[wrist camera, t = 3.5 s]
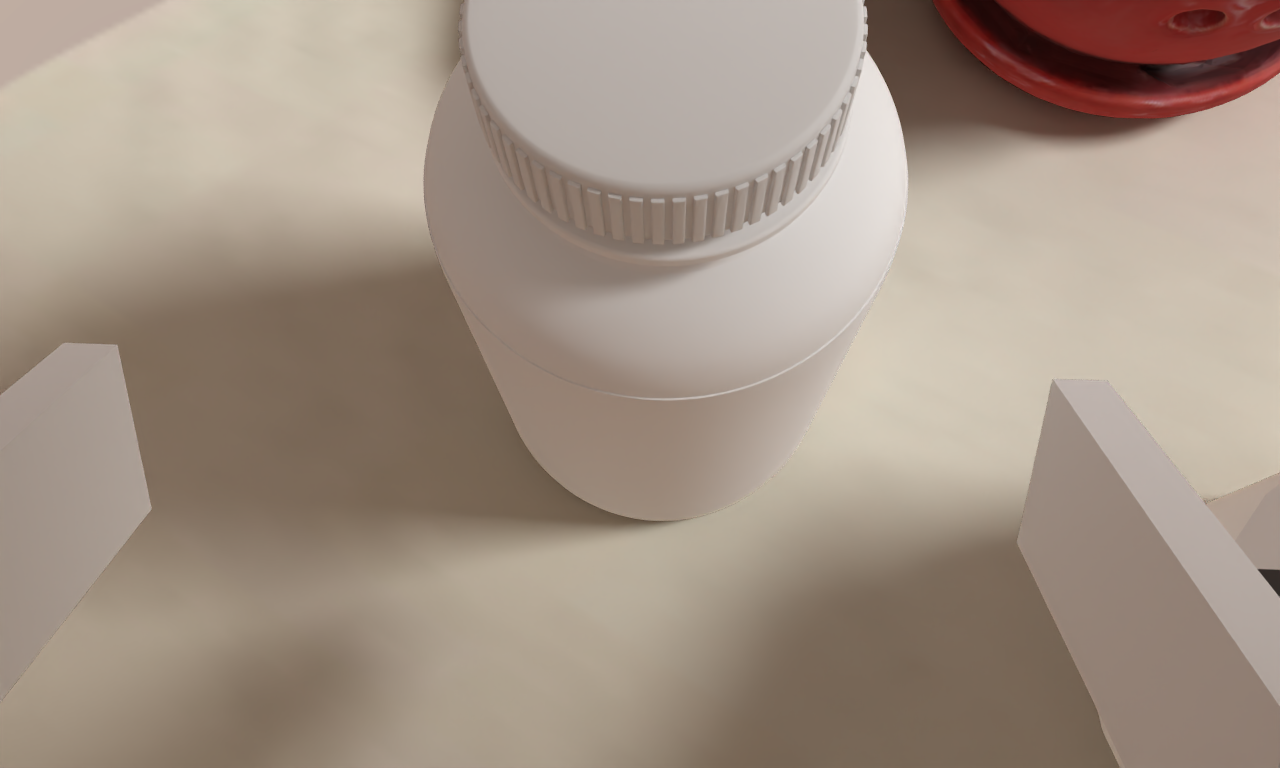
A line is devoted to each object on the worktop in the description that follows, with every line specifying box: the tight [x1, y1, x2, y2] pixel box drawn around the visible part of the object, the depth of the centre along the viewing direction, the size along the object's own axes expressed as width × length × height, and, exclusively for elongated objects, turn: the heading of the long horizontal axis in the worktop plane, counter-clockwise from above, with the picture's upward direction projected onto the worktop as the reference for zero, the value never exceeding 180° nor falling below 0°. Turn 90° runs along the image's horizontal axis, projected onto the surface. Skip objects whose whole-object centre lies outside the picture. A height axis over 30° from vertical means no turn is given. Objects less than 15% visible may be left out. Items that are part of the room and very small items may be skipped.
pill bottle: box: [424, 0, 908, 521], centre depth 21 cm, size 8×8×15 cm
